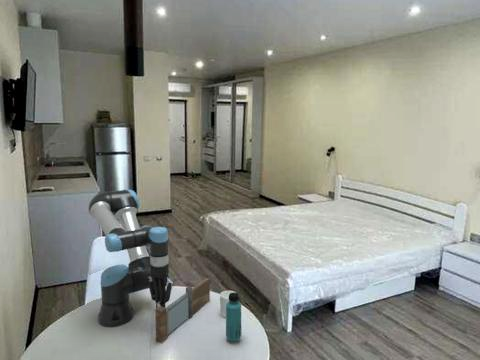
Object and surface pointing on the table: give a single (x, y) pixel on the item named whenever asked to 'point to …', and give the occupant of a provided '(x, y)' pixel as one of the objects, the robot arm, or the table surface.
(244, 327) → the table surface
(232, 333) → the beverage bottle
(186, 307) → the gate panel
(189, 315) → the gate frame
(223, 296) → the white cup
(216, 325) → the table surface
